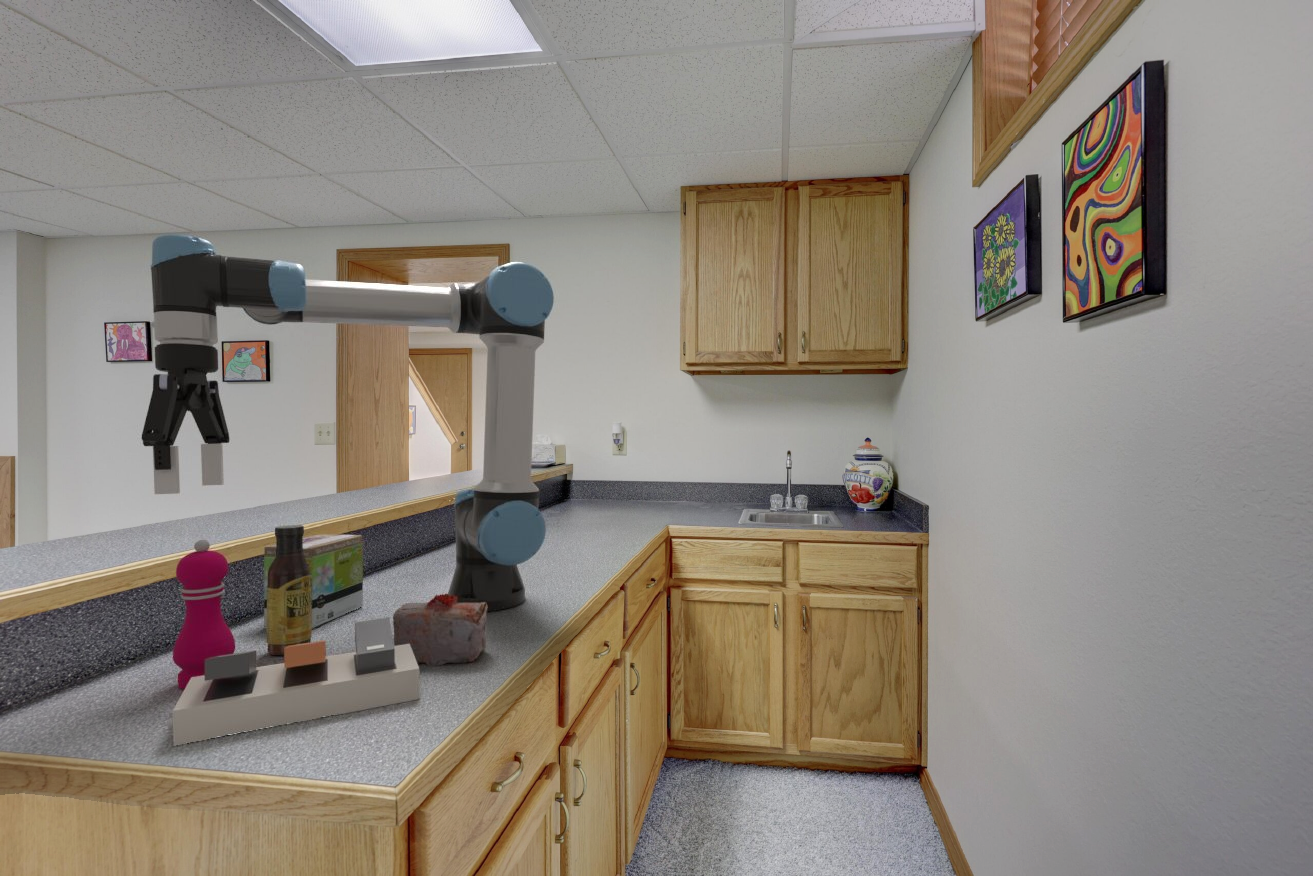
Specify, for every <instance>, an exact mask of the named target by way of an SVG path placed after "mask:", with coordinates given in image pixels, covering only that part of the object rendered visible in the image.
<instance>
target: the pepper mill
mask: <svg viewBox="0 0 1313 876" xmlns="http://www.w3.org/2000/svg"><path fill="white" fill-rule="evenodd" d="M210 546H211V545H210V542H209V541H208V540H206V539H199V540H197V541H196V542H195V543H194V546H193V548H194V550H195V551H194V552H190V553H188V554H185V556H183V557H182V558H181V559H179V561H178V563H177V565H176V570H175V575H176V576H175V577H176V578H177V580H178V582H180V583H181V584H182V586H183V587H182V588H181V589H180V592H181V596H180V598H181V599H182V600H184V604H185V617H184V622H183V625H182V627H181V630H180V632H179V634H178V636H177V639H176V641H175V644H174V646H173V650H172V661H173V663H174V664H175V666H177V667H179V669H180V670H179V672H178V673H177V687H178V688H179V689H180V690H183V691H184V690H185V688H186V686H187V684H188V682H189V681H190V679H191V677H197V676H203V675H205V659H207V658H211V657H215V656H221V655H227V654H234V653H235V650H236V641H235V637H234V634H233V633H232V631H231V629H230V627H229V626H228V624H227V623H226V621H225V619H224V617H223V614H222V605H221V601H222V595H223V594H225V592H226V591H225V588H224V587H225V583H224V582H222V581H223V579H224V578H226V576H227V574H228V572H229V563H228V560H227V558H226V557H225V556H224V554H222V553H221V552H219V551H215V550H209V549H210Z"/></svg>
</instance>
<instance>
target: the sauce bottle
mask: <svg viewBox="0 0 1313 876" xmlns="http://www.w3.org/2000/svg"><path fill="white" fill-rule="evenodd" d="M304 534H305V527H304V525H301V524H291V525H290V524H288V525H279V526H276V527H274V535H275V539H276V541H275V543H276V558H275V559H274V561H273V562H272V564H271V566H270V567H269V570H268V586H267V627H266V643H267V652H268V654H270V655H272V656H284V648H285V647H287V646H290V645H297V644H304V643H310V642H312V641H311V639H312V634H313V633H312V630H313V629H312V614H311V610H312V589H311V582H312V577H311V573H310V570H309V568H308V565H307V562H306V559H305V557H304V554H303V538H304Z"/></svg>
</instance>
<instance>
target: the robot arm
mask: <svg viewBox="0 0 1313 876" xmlns="http://www.w3.org/2000/svg"><path fill="white" fill-rule="evenodd" d="M151 245H152V246H151V247H152V248H151V265H150V271H151V274H150V275H151V286H152V287H151V289H152V306H153V308H152V309H153V321H152V322H151V327H152V328H153V329H154V330H153V331H154V340H155V341H156V342H158V343H159V344H156V346H154V366H155V367H154V368H155V369H156V370H157V371H159V372H162V373H163V372H164V373H163V374H162V373H159V374H158V373H157V374H156V373H155V374H153V378H152V381H153V382H152V392H151V396H150V401H149V404H148V410H147V412H146V417H145V421H144V425H143V429H142V434H141V441H142V444H143V446H144V447H152V455H153V456H152V457H153V458H152V459H153V460H152V461H153V462H152V463H153V484H154V485H153V487H154V489H153V490H154V495H170V494H171V495H175V494H176V495H177V494H180V493H181V487H180V486H181V485H180V482H181V481H180V459H179V458H180V457H179V445H174V444H175V442H176V439H177V437H178V434H179V431H181V427H182V425H183V421H184V419H185V417H186V414H187V412H190V413H191V415H192V418H193V419H194V422H195V424H196V427H197V428H198V431H199V433H200V434H201V438H202V440H203V442H204V443H201V444H200V451H201V452H200V453H201V454H200V455H201V458H200V459H201V482H202V483H201V484H202V486H222V485H225V484H224V479H225V478H224V458H223V457H224V456H223V454H224V453H223V444H229V442H230V434H229V433H230V432H229V429H228V424H227V421H226V417H225V414H224V409H223V405H222V402H221V397H220V393H219V382H218V381H217V380H208V378H207V377H208V376H207V374H208V373H209V374H212V373H216V372H218V371H219V352H218V351H219V350H218V349H217V347H215V346H214V345H216V344H218V341H219V338H218V335H219V334H218V317H217V307H222V308H239V309H240V308H241V309H243V312H245V313H246V315H247V316H248V317H250V318H252V320H253V321H255V322H257V323H260V324H263V325H269V326H270V325H271V326H272V325H278V324H282V323H314V324H315V323H316V324H317V323H318V324H339V325H340V324H342V325H344V324H346V325H347V324H348V325H367V326H368V325H370V326H373V325H374V326H396V327H397V326H399V327H401V326H402V327H420V328H421V327H424V328H426V327H427V328H448V329H449V330H450V331H451V332H452V333H453V334H471V335H479V339H480V340H481V342H483V344H485V347H486V348H487V356H486V384H485V385H486V386H485V387H486V388H485V409H484V410H485V413H484V443H483V445H484V446H483V471H482V472H483V473H482V479H481V480H480V482H479V483H478V484H477V485H476V486H475V487H474V488H468V489H461V490H459V491H457V492H456V494H455V498H454V505H453V508H454V514H455V515H454V517H455V519H454V523H455V524H454V525H455V526H454V527H455V566H456V567H455V568H454V569H455V570H454V573H453V576H452V580H451V582H450V585H449V588H448V593H447V594H448V595H450V596H452V595H454V596H456V597H457V599H458V600H457V603H481V602H486V603H487V606H488V608H487V612H494V611H501V610H506V609H510V608H513V607H516V606H518V605H521V604H522V603H524V602H525V600H526V588H525V585H524V582H523V579H522V576H521V574H520V571H519V567H518V565H520V564H523V563H525V562H527V561H529V560H530V559H531V558H532V559H533V557H534V556H535V555H536V554H537V553H538V552H539V550H540V549H541V548H542V546H543V544H544V541H545V538H546V531H547V529H546V528H547V526H546V521H545V518H544V516H543V514H542V513H541V510H539V505H540V504H539V500H540V498H539V497H540V495H539V494H540V488H539V487H538V486H537V485H536V484H535V482H533V480H532V460H533V457H532V456H533V432H534V431H533V430H534V427H533V426H534V403H535V402H534V400H535V399H534V397H535V377H536V375H535V369H536V351H537V350H538V349H539V348H540V347H541V346H542V345H543V344H544V342H545V328H546V327H545V324H546V323H545V322H546V320H547V318H548V317H549V316H550V314H551V312H552V311H553V306H554V302H555V301H554V299H555V297H554V291H553V287H552V285H551V282H550V281H549V279H548V278H547V277H546V276H545V274H544V273H543V272H542V270H541V271H540V270H539V269H538V268H537V267H536V266H533V265H531V264H529V263H526V262H521V261H513V262H508V263H505V264H502V265H499V266H497V267H495V268H494V269H493V270H492V271H491V272H490V273H489V275H487V276H486V277H485V278H484V279H481V280H479V281H475V282H470V283H469V282H467V283H460V282H458V283H457V282H452V283H451V284H449V286H447V287H439V286H422V285H406V284H405V285H403V284H392V283H391V284H390V283H387V284H386V283H374V282H373V283H372V282H358V281H356V282H355V281H342V280H341V281H339V280H337V281H336V280H323V279H321V280H320V279H310V278H309V279H307V278H306V270H305V268H304V267H303V265H301V264H299V263H296V262H289V261H283V260H280V259H277V260H275V259H274V260H273V259H271V260H269V259H262V258H261V259H258V258H248V257H247V258H246V257H235V256H225V255H224V256H223V255H222V254H216V253H217V252H216V251H215V246H214V245H213V243H212V242H210V241H209V240H207V239H204V238H201V237H196V236H195V237H194V236H190V235H187V234H186V235H185V234H162V235H158V236H157V237H155V238H154V239H153V241H152V244H151ZM166 373H167V374H166Z"/></svg>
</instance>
